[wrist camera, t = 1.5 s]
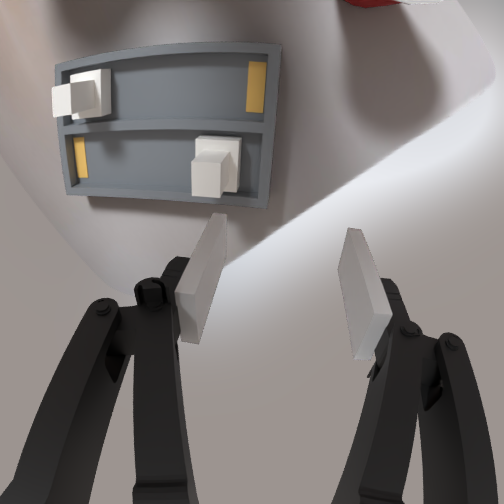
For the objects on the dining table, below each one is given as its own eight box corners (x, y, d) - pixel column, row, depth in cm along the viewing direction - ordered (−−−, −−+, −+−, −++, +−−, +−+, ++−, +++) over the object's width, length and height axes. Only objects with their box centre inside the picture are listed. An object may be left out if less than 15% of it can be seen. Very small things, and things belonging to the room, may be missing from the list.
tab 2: (201, 134, 28) (181, 149, 23) (241, 137, 28) (231, 151, 23) (200, 182, 31) (183, 206, 26) (239, 185, 30) (229, 209, 25)
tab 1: (81, 73, 25) (45, 78, 20) (110, 68, 24) (76, 71, 19) (82, 116, 27) (48, 128, 22) (111, 113, 27) (78, 124, 22)
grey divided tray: (73, 63, 26) (54, 64, 23) (281, 48, 25) (281, 44, 22) (81, 184, 35) (66, 195, 32) (269, 195, 33) (267, 208, 30)
